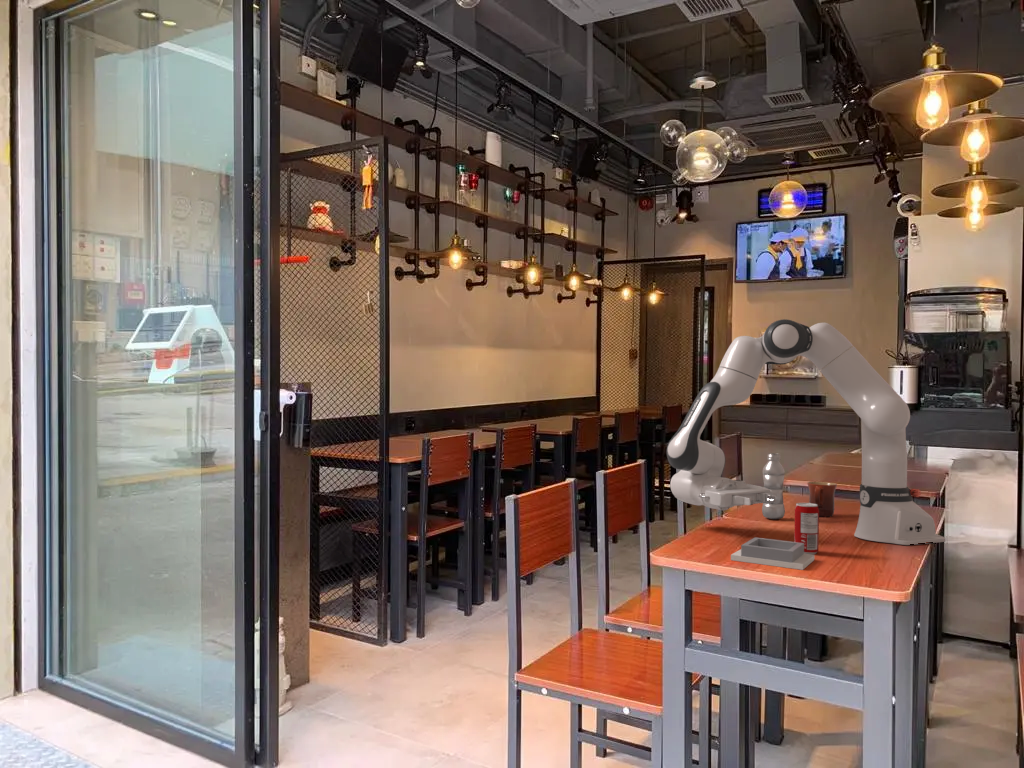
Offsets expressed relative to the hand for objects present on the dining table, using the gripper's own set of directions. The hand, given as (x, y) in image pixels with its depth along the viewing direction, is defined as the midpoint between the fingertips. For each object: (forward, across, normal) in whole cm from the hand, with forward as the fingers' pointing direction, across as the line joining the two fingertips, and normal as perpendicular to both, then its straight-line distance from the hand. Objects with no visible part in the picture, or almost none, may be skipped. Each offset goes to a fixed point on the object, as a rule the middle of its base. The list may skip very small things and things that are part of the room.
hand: (763, 500), depth 198 cm
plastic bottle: (-22, +34, +11) cm, 42 cm away
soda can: (+13, 0, +11) cm, 17 cm away
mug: (-17, +52, +11) cm, 56 cm away
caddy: (+14, -14, +11) cm, 23 cm away
